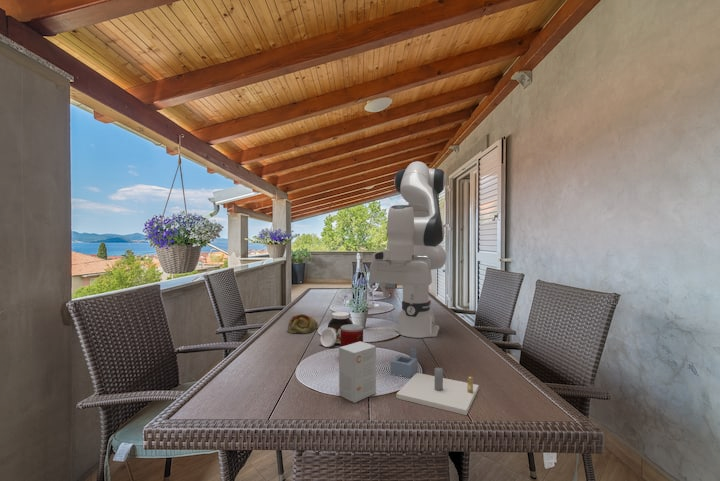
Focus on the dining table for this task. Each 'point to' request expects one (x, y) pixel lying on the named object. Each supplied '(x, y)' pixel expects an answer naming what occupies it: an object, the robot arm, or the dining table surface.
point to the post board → (438, 392)
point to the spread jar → (334, 329)
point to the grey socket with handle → (404, 364)
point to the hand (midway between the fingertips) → (399, 298)
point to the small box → (357, 371)
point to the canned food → (351, 334)
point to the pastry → (302, 324)
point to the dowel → (470, 384)
